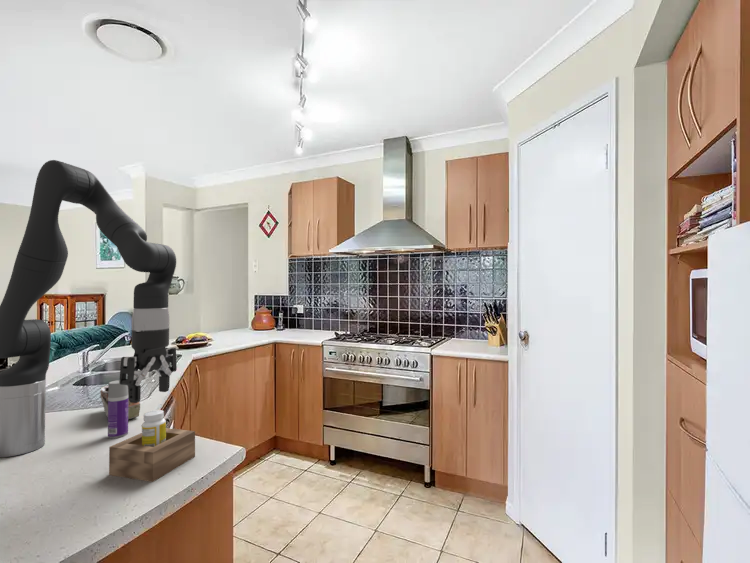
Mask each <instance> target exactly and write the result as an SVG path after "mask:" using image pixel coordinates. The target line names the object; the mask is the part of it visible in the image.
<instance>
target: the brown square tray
mask: <svg viewBox="0 0 750 563" xmlns="http://www.w3.org/2000/svg"><path fill="white" fill-rule="evenodd" d="M108 448H109V450H108V451H109V453H108V454H109V455H108V456H109V458H108V475H109V476H112V477H120V478H125V479H132V480H138V481H145V482H149V483H154V482H155V481H157V480H158V479H161V478H162V477H163V476H165V475H167V474H169V473H170V472H173V471H174V470H175V469H177V468H178V467H180V466H182V465H184V464H185V463H187V462H189V461H191V460H192V459H194V458H196V431H195V430H186V429H177V428H168V427H166V441H165V442H163V443H161V444H158V445H156V446H154V447H150V446H142V432H140V433H138V434H136V435H134V436H131V437H129V438H126V439H124V440H121V441H119V442H117V443H115V444H113V445H110V446H109V447H108Z"/></svg>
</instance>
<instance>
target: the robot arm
mask: <svg viewBox="0 0 750 563" xmlns="http://www.w3.org/2000/svg"><path fill="white" fill-rule="evenodd" d="M63 201H64V202H67V203H70V204H71V203H72V204H76V205H82V206H83V207H85V208H87V209H88V210H90V211H92V212H93V214H95V221H96V224H97V227H98V229H99V231H100V232H101V233H102V234H103V236H105V237H106V238H107V240H109V241H110V243H112V244H113V245H114V246H115V247H116V249H117V250H118V253H119V254H120V256H121V258H122V260H123V262H124V263H125V264H126V265H127V267H129V268H130V269H132V270H133V271H136V272H139V273H149V275H148V278H147V279H146V281H145V282H142V283H138V284H136V285H135V286H134V289H133V310H132V311H133V312H132V316H131V349H133V351H134V354H133V356H122V357H121V358H120V367H119V368H120V369H119V379H118V380H119V383H120V384H121V385H127V386H128V399H129V401H130V402H131V403H137V402H141V397H142V396H141V394H142V393H141V391H142V390H141V388H142V387H141V386H142V385H140V384H141V383H142V381H143V379H144V378H145V377H146V376H147V375H148V373H150V372H153V371H156V372H157V374H158V375H159V376H158V391H159V392H161V393H166V392H169V391H170V381H171V380H170V377H171V375H172V373H174V372H176V371H177V370H178V369H177V368H178V366H177V364H178V363H177V349H176V347H168V346H169V345H170V313H169V312H170V311H169V290H170V287H171V285H172V281H173V278H174V274H175V271H176V267H177V256H176V254H175V252H174V249H172V247H170V246H169V245H165V244H162V243H161V244H160V243H156V242H155V243H154V242H149V241H147V240H148V235H147V233H146V231H145V230H144V229H143V227H142V226H141V225H139V224H138V223H137V222H136V221H135V220H134V219H133V218H132V217H131V216H129V215H128V214H127V213H126V212H125V211H124V210H123V209H122V208H121V207H120V206H119V204H118V203H116V201H115V200H114V198H113V197H112V196H111V194H110V193H109V192H108V191H107V189H106V188H105V186H104V185H103V184H102V182H101V181H100V180H99V179H98V177H97V176H96V175H95V174H93V173H92V172H91V171H89V170H86V169H84V168H82V167H80V166H76V165H72V164H70V163H67V162H64V161H60V160H56V159H52V160H51V159H50V160H48V161H45V162H44V163H43V164H42V166H41V167H40V169H39V171H38V174H37V177H36V180H35V185H34V189H33V197H32V202H31V206H30V207H31V208H30V213H29V217H28V221H27V224H26V227H25V230H24V234H23V237H22V240H21V243H20V245H19V248H18V251H17V254H16V257H15V260H14V264H13V268H12V272H11V274H10V275H11V276H10V278H9V282H8V285H7V287H6V291H5V293H4V296H3V298H2V301H1V303H0V359H10V358H16V357H19V358H18V360H17V361H16V363H14V364H13V365H12V366H10V367H8V368H6V369H5V370H2V371H0V458H6V457H14V456H19V455H23V454H27V453H28V454H29V453H31V452H33V451H36V450H39V449H41V448H43V447H44V446H45V444H46V443H45V442H46V401H47V400H46V392H47V390H46V384H47V380H46V376H47V372H48V369H49V367H50V357H51V346H52V334H51V333H52V332H51V329H50V326H49V325H48V323H47V322H46V321H44V320H42V319H38V318H37V319H36V318H35V319H33V318H32V319H26V317H27V315H28V313H29V311H30V310H31V308H32V307H33V306H35V304H36V302H37V301H39V300H40V299H41V298H43V296H44V295H45V294H47V293H48V292H49V291H50V290H51V289H52V288H53V287H55V285H56V284H57V283H58V282H59V281H60V280H61V277H62V275H63V274H64V270H65V267H66V263H67V260H68V256H69V250H68V247H67V244H66V240H65V238H64V236H63V233H62V231H61V228H60V224H59V214H60V209H61V205H62V202H63ZM170 363H171V364H170Z"/></svg>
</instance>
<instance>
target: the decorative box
mask: <svg viewBox="0 0 750 563" xmlns="http://www.w3.org/2000/svg"><path fill="white" fill-rule="evenodd" d="M108 391H109V384H108V385H104V386H102V387H100V392H99V393H100V395H99V396H100V398H101V401H102V405H103V410H104V414H105V415H106V417H107V418H108ZM140 402H141V401H140ZM140 402H137V403H131V402H130V401H129V399H128V420H131V419H135V418H138V417H140V412H141V411H140V410H141V403H140Z"/></svg>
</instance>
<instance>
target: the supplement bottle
mask: <svg viewBox="0 0 750 563" xmlns="http://www.w3.org/2000/svg"><path fill="white" fill-rule="evenodd" d="M164 412H165V411H164V410H161V409H156V410H150V411H147V412H145V413H144V414H143V422H142V425H141V433H142V446H150V447H154V446H156V445H158V444H161V443H163V442H165V441H166V428H167V422H166V419H165V418H164V417H165V413H164Z"/></svg>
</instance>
